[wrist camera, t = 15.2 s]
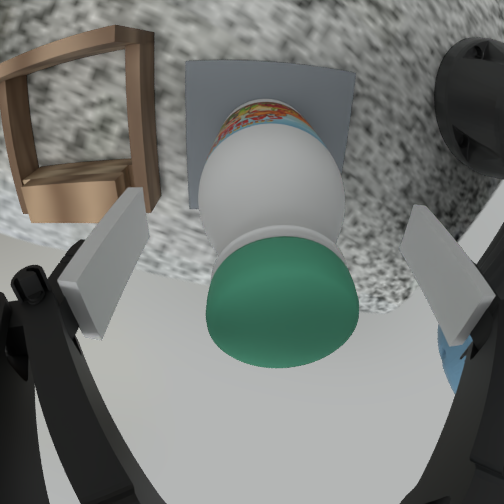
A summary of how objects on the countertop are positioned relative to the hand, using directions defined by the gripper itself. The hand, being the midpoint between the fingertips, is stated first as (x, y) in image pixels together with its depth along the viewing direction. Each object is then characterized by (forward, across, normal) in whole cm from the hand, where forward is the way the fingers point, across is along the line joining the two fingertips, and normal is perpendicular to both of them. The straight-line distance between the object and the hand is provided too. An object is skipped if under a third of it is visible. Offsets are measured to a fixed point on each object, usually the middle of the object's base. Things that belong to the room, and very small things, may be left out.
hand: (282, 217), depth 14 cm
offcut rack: (+14, +18, -2) cm, 23 cm away
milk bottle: (+14, 0, 0) cm, 14 cm away
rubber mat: (+14, 0, 0) cm, 14 cm away
